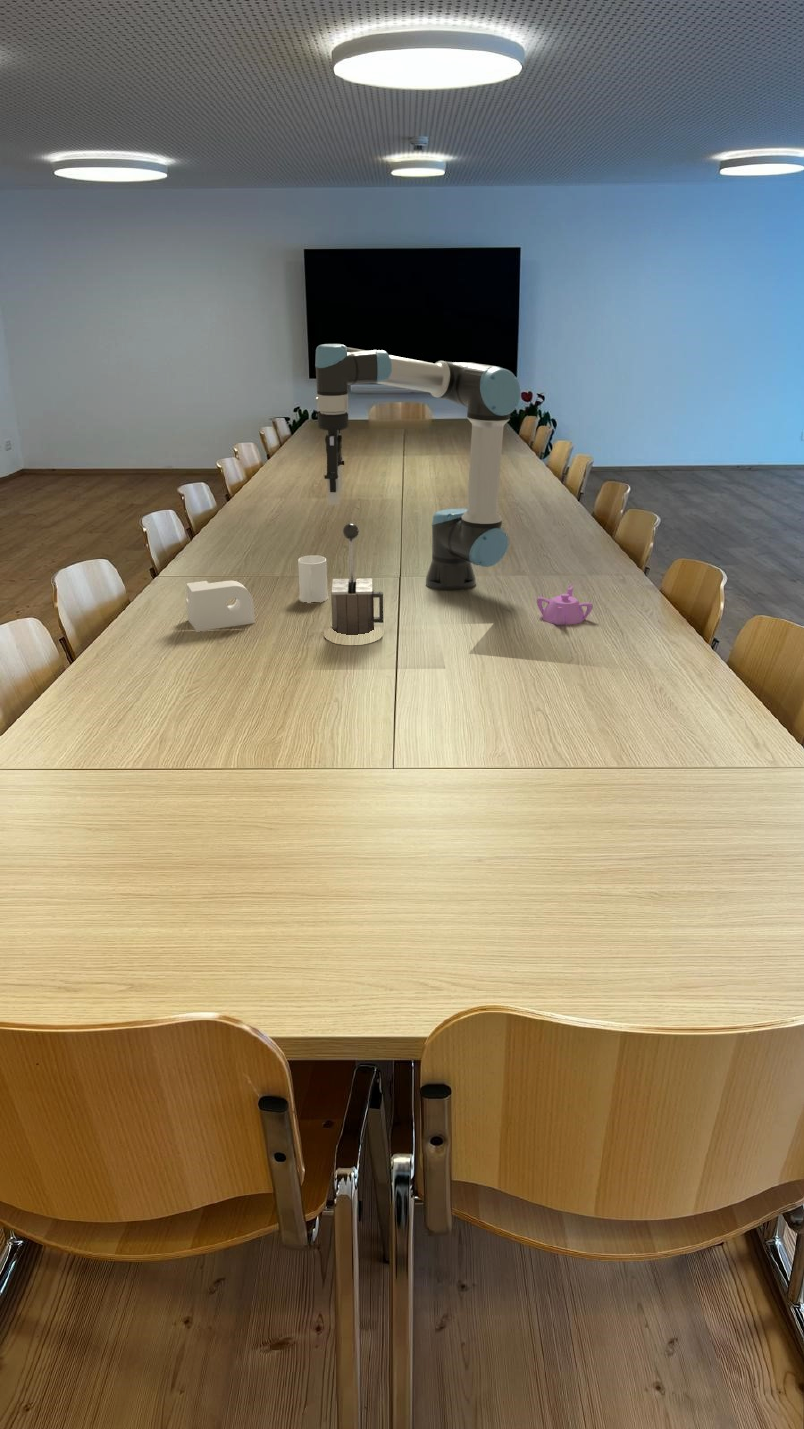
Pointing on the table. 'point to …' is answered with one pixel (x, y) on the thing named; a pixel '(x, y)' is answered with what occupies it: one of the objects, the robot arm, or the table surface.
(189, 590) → the tape dispenser
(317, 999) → the table surface
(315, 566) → the mug
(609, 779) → the table surface
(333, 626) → the wooden tankard
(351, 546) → the plunger
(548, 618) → the teapot
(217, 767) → the table surface
